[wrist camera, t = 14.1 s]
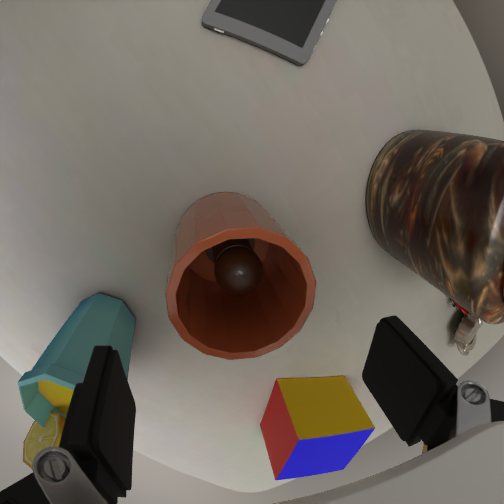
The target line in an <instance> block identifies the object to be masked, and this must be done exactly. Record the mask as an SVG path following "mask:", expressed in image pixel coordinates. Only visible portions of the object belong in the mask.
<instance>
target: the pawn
mask: <svg viewBox="0 0 504 504" xmlns="http://www.w3.org/2000/svg"><path fill="white" fill-rule="evenodd" d="M254 247H255V238H247V239H228V240H226V241H224V242H222V243H219V244H217V245H215V246H213V247H210V248H208V249H206V250H205V251H206V254H207V256H208V257H209V259H210V260H211V261H212V262H213V263H214V264H215V266H214V275H215V279H216V281H217V283H218V285H219V286H220V287H221V288H222V289H223V290H224V291H226V292H228V293H230V294H234V295H244V294H247V293H249V292H251V291H253V290H254V289H255V288H256V287H257V286H258V285H259V283H260V281H261V279H262V275H263V266H262V263H261V260H260V258H259V257H258V255H257V254H256V253H255V252H254Z"/></svg>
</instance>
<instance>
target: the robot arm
mask: <svg viewBox="0 0 504 504" xmlns="http://www.w3.org/2000/svg"><path fill="white" fill-rule="evenodd" d="M362 378H363V381H364V383H365V384H366V386H367V387H368V389H369V390H370V392H371V393H372V395H373V397H374V398H375V400H376V401H377V403H378V404H379V406H380V407H381V409H382V410H383V412H384V413H385V415H386V416H387V418H388V420H389V421H390V423H391V424H392V426H393V427H394V429H395V430H396V432H397V433H398V435H399V437H400V438H401V439H402V440H403V441H406V443H407V444H408V446H412V445H414V444H416V443H418V442H420V441H421V439H422V441H423V442H424V446H423V452H422V454H421V455H419V456H417V457H415V458H413V459H411V460H409V461H407V462H404V463H402V464H400V465H397V466H395V467H393V468H390V469H388V470H386V471H383V472H381V473H378V474H375V475H373V476H370V477H367V478H365V479H362V480H359V481H356V482H353V483H350V484H347V485H344V486H341V487H338V488H335V489H332V490H328V491H325V492H321V493H317V494H314V495H310V496H306V497H301V498H297V499H293V500H288V501H284V502H279V503H274V504H504V402H502V401H497V400H493V399H490V398H489V394H488V391H487V390H486V388H485V387H484V386H483V385H481V384H480V383H478V382H474V381H465V382H462V383H461V384H460V385H459V386H457V385H456V383H457V381H458V379H457V378H456V377H455V376H454V375H453V374H452V373H451V372H450V371H449V370H448V369H447V368H446V366H445V365H444V364H443V363H442V362H441V361H440V360H439V359H438V358H437V357H436V356H435V355H434V354H433V353H432V352H431V351H430V350H429V348H428V347H427V346H426V345H425V344H424V343H423V342H422V341H421V340H420V339H419V338H418V337H417V336H416V335H415V334H414V333H413V332H412V331H411V330H410V329H409V328H408V327H407V326H406V325H405V324H404V323H403V322H402V321H401V320H400V319H399V318H398V317H397V316H390V317H385V318H382V319H381V320H380V322H379V323H378V324H377V326H376V329H375V333H374V336H373V340H372V343H371V347H370V350H369V353H368V357H367V360H366V363H365V366H364V369H363V373H362ZM135 414H136V406H135V401H134V398H133V395H132V393H131V390H130V387H129V384H128V381H127V378H126V375H125V372H124V369H123V365H122V362H121V359H120V356H119V352H118V350H113V348H112V346H110V345H96V346H94V349H93V352H92V355H91V358H90V361H89V364H88V367H87V371H86V374H85V377H84V381H83V383H77V384H76V386H75V388H74V391H73V395H72V398H71V401H70V405H69V408H68V412H67V416H66V419H65V423H64V427H63V431H62V435H61V439H60V443H59V447H56V446H55V447H47V448H44V449H42V450H41V451H40V452H38V453H37V455H36V456H35V457H34V460H33V463H32V470H33V473H31V474H30V475H28V476H26V477H25V478H23V479H21V480H20V481H18V482H16V483H14V484H13V485H11V486H9V487H8V488H6V489H4V490H2V491H1V492H0V504H117V497H126V490H131V483H132V457H133V440H134V426H135Z"/></svg>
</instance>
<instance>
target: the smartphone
mask: <svg viewBox="0 0 504 504" xmlns="http://www.w3.org/2000/svg"><path fill="white" fill-rule="evenodd" d="M336 1H337V0H211V2H210V4H209V5H208V7H207V9H206V10H205V12H204V14H203V16H202V25H203V26H204V27H207V28H210V29H213V30H215V31H218V32H221V33H224V34H227V35H230V36H232V37H235V38H238V39H240V40H243V41H245V42H248V43H250V44H253V45H255V46H257V47H260V48H262V49H264V50H267V51H269V52H271V53H274V54H276V55H278V56H280V57H282V58H284V59H287V60H289V61H291V62H293V63H295V64H297V65H303V64H304V63H306V62H307V61H308V60H309V58H310V56H311V54H312V53H313V50H314V48H315V46H316V43H317V41H318V39H319V37H320V36H321V35H322V33H323V31H322V30H323V28H324V26H325V24H326V23H327V22H328V20H329V19H328V17H329V15H330V13H331V11H332V9H333V7H334V5H335V3H336Z"/></svg>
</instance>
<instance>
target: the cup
mask: <svg viewBox="0 0 504 504" xmlns="http://www.w3.org/2000/svg"><path fill="white" fill-rule="evenodd" d="M135 321H136V319H135V318H134V316H133V315H132V314H131V312H130V311H129V309H128V308H127V307H126V305H125V304H124V302H123V301H122V300H119V299H116V298H113V297H110V296H107V295H104V294H101V293H98V294H96V295H94V296H92V297H90V298H87V299H85V300H83V301H82V302H81V303H80V304H79V305H78V307H77V308H76V309H75V311H74V312H73V313H72V315H71V316H70V317H69V318H68V320H67V321H66V322H65V324H64V325H63V326H62V328H61V329H60V330H59V332H58V333H57V335H56V336H55V337H54V339H53V340H52V341H51V343H50V344H49V346H48V347H47V348H46V350H45V351H44V353H43V354H42V356H41V357H40V358H39V360H38V361H37V363H36V364H35V366H34V367H33V369H32V370H31V371H29V372H26V373H24V375H23V376H22V377H21V379H20V380H19V381H18V385H19V390H20V394H21V398H22V403H23V407H24V410H25V411H26V412H27V413H28V414H29V415H30V416H31V417H32V418H33V419H34V420H35V421H34V423H33V424H32V426H31V428H30V430H29V432H28V434H27V437H26V439H25V440H24V448H23V462H24V463H25V464H27V465H28V466H29V467H30V468H31V469H32V463H33V460H34V457H35V456H36V455H37V453H38V452H40V451H41V450H42V449H44V448H47V447H55V446H56V447H59V443H60V439H61V435H62V431H63V427H64V423H65V419H66V416H67V412H68V408H69V405H70V401H71V398H72V395H73V391H74V388H75V386H76V384H77V383H83V381H84V377H85V374H86V371H87V367H88V364H89V361H90V358H91V355H92V352H93V349H94V346H96V345H110V346H112V348H113V350H118V352H119V356H120V359H121V362H122V365H123V369H124V372H125V375H126V378H127V379H128V370H129V362H130V355H131V347H132V340H133V333H134V327H135Z"/></svg>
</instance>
